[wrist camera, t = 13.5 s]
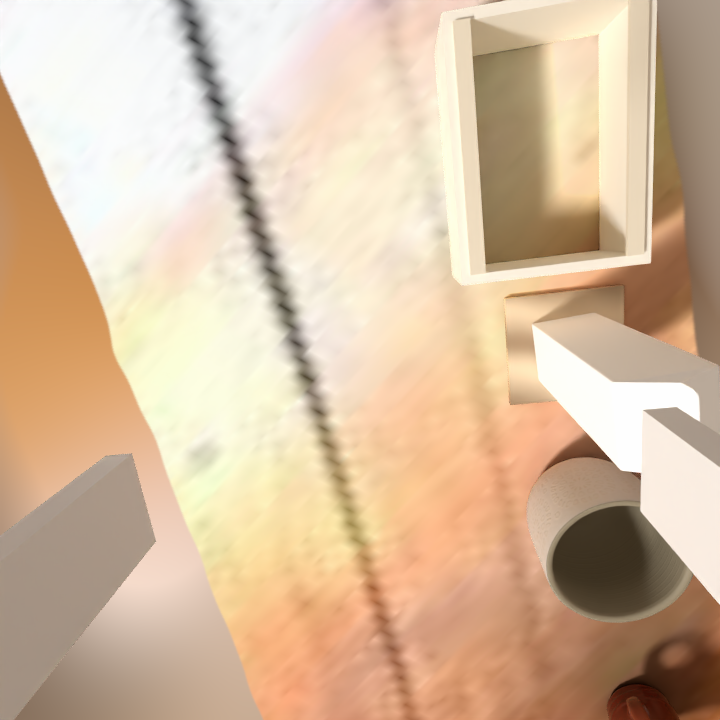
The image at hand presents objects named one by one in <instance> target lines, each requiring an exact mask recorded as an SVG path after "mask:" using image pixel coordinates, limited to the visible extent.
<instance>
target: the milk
mask: <svg viewBox="0 0 720 720" xmlns="http://www.w3.org/2000/svg"><path fill="white" fill-rule="evenodd" d="M532 330H533V338H534V347H535V355H536V363H537V371H538V379H539V381H540V382H541V383H542V384H543V385H544V387H545V388H546V389H547V390H548V391H549V392H550V393H551V394H552V395H553V396H554V398H555V399H556V400H557V401H558V402H559V403H560V404H561V405H562V406H563V407H564V409H565V410H566V411H567V412H568V413H569V414H570V415H571V416H572V417H573V418H574V419H575V421H576V422H577V423H578V424H579V425H580V426H581V427H582V428H583V429H584V430H585V432H586V433H587V434H588V435H589V436H590V437H591V438H592V439H593V440H594V441H595V443H596V444H597V445H598V446H599V447H600V448H601V449H602V450H603V451H604V452H605V453H606V455H607V456H608V457H609V458H610V459H611V460H612V461H613V462H614V463H615V464H616V466H617V467H618V468H619V469H620V470H622V471H630V472H639V473H641V455H642V410H645V409H657V408H668V407H678V408H679V409H681V410H682V411H684V412H685V413H687V414H688V415H690V416H692V417H693V418H695V419H696V420H698V421H699V422H701V423H703V424H704V425H706V426H707V427H709V428H710V429H712V430H713V431H715V432H717V433H718V434H720V378H719V365H717V364H715V363H712V362H710V361H707V360H705V359H703V358H700V357H698V356H696V355H693V354H691V353H689V352H686V351H684V350H682V349H679V348H677V347H674V346H672V345H670V344H667V343H665V342H663V341H660V340H658V339H656V338H653V337H651V336H649V335H646V334H644V333H641V332H639V331H637V330H634V329H632V328H630V327H627V326H625V325H623V324H620V323H618V322H616V321H613V320H611V319H608V318H606V317H604V316H601V315H599V314H597V313H588V314H583V315H577V316H572V317H566V318H561V319H556V320H550V321H545V322H539V323H534V324H532Z"/></svg>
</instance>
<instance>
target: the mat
mask: <svg viewBox="0 0 720 720" xmlns="http://www.w3.org/2000/svg"><path fill="white" fill-rule="evenodd" d="M504 310H505V328H506V347H507V366H508V384H509V403H510V405H517V404H528V403H539V402H550V401H557V400H556V399H555V398H554V396H553V395H552V394H551V393H550V392H549V391H548V390H547V389H546V388H545V387H544V385H543V384H542V383H541V382H540V381H539V379H538V371H537V363H536V355H535V347H534V338H533V330H532V324H534V323H539V322H545V321H550V320H556V319H561V318H566V317H572V316H577V315H583V314H588V313H597V314H599V315H601V316H604V317H606V318H608V319H611V320H613V321H616V322H618V323H620V324H623V325H624V285H615V286H606V287H597V288H588V289H580V290H571V291H562V292H553V293H545V294H536V295H527V296H519V297H510V298H504Z"/></svg>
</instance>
